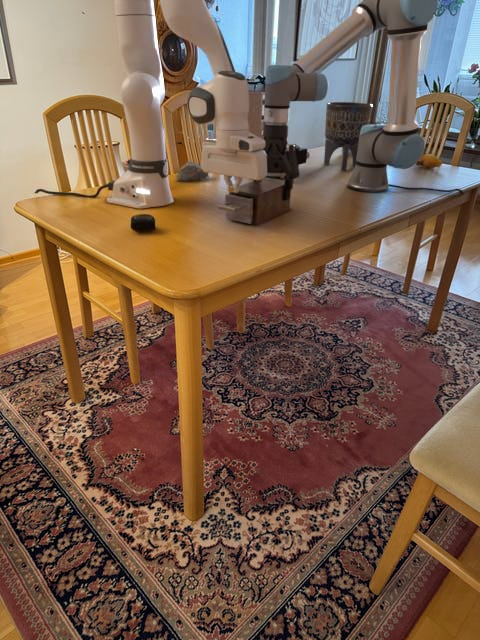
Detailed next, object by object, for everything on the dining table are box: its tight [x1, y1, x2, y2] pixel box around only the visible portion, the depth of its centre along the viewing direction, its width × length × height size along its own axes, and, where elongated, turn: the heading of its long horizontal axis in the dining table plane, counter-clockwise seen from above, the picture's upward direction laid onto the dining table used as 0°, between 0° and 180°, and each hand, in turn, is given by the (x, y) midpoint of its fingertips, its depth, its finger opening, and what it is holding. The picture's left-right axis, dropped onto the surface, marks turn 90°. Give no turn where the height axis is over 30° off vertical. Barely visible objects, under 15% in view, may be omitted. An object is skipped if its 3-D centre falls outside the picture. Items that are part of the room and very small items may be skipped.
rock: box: [176, 160, 210, 183], centre depth 181 cm, size 13×9×6 cm, turn 131°
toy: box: [415, 153, 443, 170], centre depth 212 cm, size 11×6×15 cm
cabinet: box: [228, 176, 292, 226], centre depth 143 cm, size 20×10×9 cm, turn 145°
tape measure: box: [130, 213, 156, 233], centre depth 129 cm, size 7×7×4 cm
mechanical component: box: [263, 144, 311, 179], centre depth 191 cm, size 22×21×30 cm
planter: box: [323, 101, 374, 172], centre depth 204 cm, size 20×20×26 cm
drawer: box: [217, 193, 255, 225], centre depth 138 cm, size 25×9×7 cm, turn 145°
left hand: (233, 191), depth 128 cm, fingers closed
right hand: (271, 196), depth 148 cm, fingers closed on cabinet, 10 cm apart
